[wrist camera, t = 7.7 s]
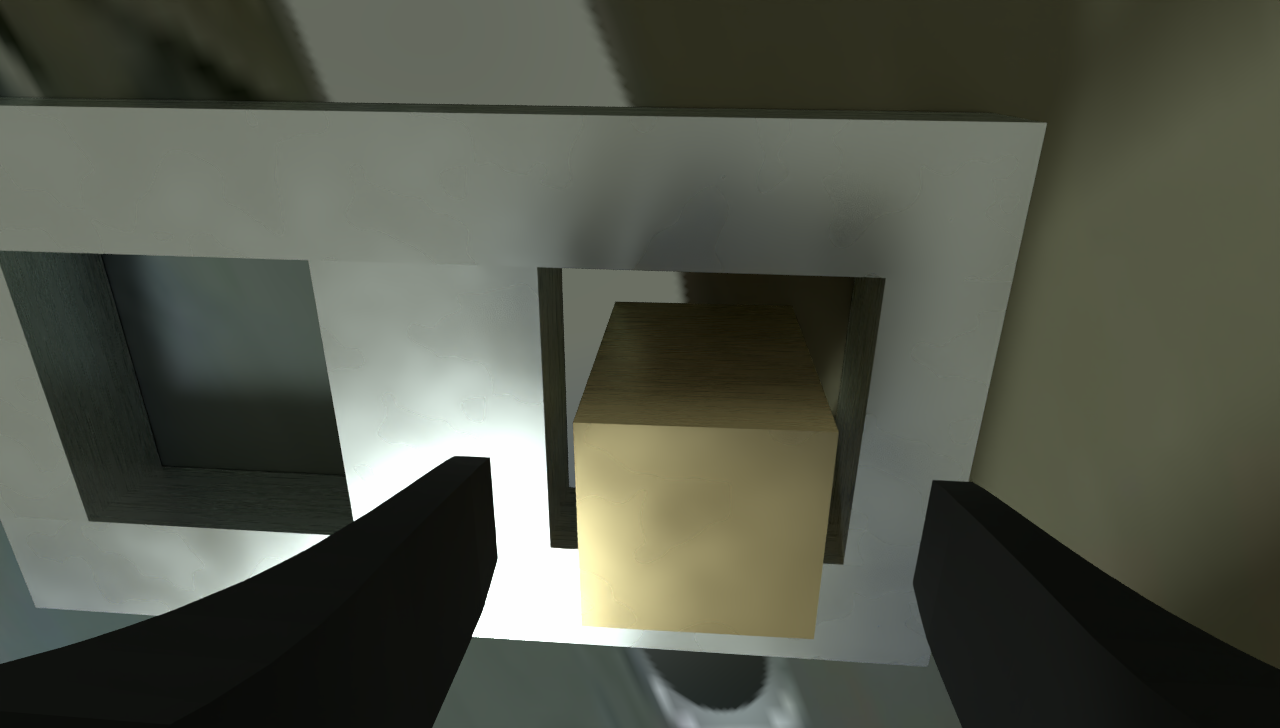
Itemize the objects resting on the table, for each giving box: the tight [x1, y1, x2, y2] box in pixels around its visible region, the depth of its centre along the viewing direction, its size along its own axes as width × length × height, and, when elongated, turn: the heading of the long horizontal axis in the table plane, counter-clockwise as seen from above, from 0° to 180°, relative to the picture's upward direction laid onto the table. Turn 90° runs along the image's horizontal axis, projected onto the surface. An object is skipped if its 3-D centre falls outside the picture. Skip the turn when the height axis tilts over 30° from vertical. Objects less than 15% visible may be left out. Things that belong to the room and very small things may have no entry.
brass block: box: [573, 302, 839, 639], centre depth 14 cm, size 4×4×6 cm
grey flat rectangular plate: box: [0, 97, 1047, 667], centre depth 16 cm, size 22×12×2 cm, turn 89°
